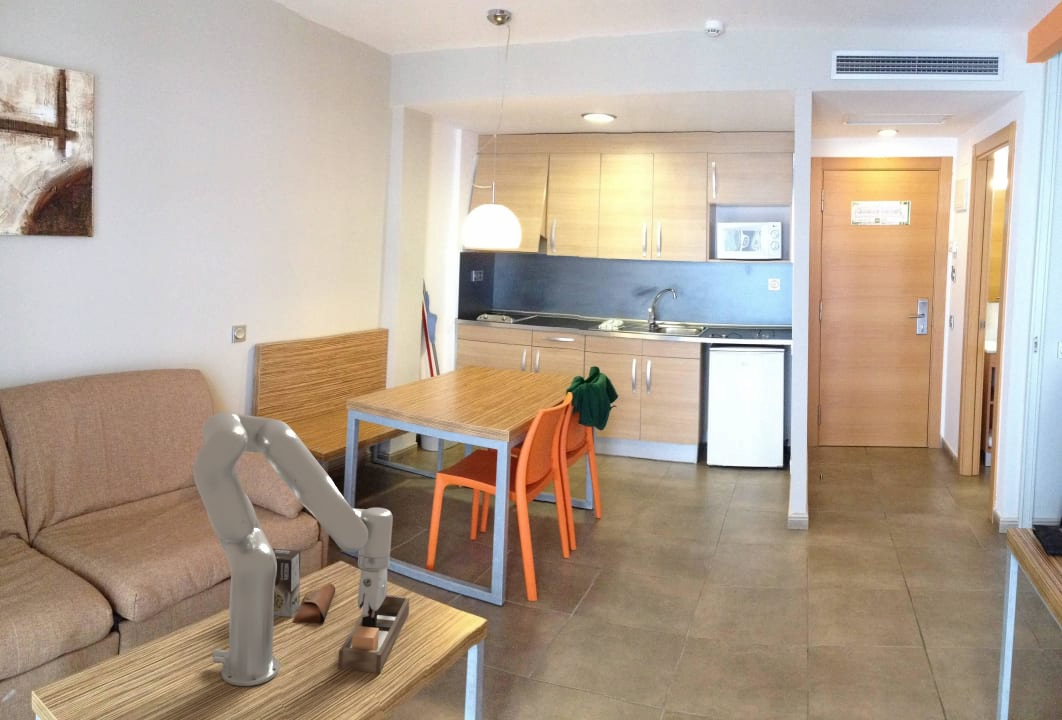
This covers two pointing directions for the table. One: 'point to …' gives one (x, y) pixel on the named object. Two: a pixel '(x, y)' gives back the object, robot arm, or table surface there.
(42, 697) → the table surface
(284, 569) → the coffee box
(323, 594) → the sunglasses case
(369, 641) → the block
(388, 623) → the trap box
